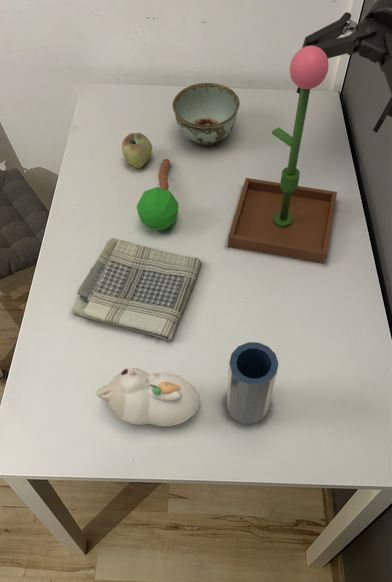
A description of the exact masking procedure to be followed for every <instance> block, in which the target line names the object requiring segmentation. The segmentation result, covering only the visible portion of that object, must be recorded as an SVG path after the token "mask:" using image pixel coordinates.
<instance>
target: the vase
mask: <svg viewBox="0 0 392 582" xmlns="http://www.w3.org/2000/svg"><path fill="white" fill-rule="evenodd" d="M278 369H279V360H278V357H277V354H276V353H275V351H274V350H272V349H271V348H270V347H269V346H268V345H266V344H264V343H261V342H259V341H257V342H255V341H253V342H252V341H250V342H246V343H245V342H244V343H243V344H240V345H238V346H237V347H236V348H235V349H234V350H233V351H232V352H231V354H230V358H229V362H228V377H227V395H226V409H227V412H228V414H229V416H230V417H231V418H232V419H233V420H234V421H235V422H237V423H239V424H242V425H255V424H258V423H259V422H260V421H262V420H263V419H264V418H265V416H266V415H267V413H268V410H269V406H270V401H271V398H272V394H273V390H274V386H275V382H276V378H277V373H278Z"/></svg>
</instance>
